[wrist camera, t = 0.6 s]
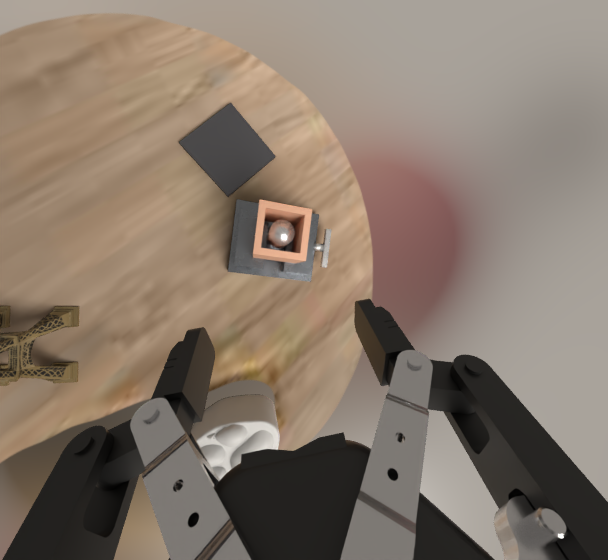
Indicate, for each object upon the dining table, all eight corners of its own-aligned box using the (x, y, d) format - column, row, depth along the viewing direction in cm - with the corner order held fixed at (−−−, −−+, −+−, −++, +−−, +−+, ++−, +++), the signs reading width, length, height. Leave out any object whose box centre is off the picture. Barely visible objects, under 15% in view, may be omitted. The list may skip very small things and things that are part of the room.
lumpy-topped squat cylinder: (275, 452, 40) (282, 500, 32) (192, 466, 37) (174, 523, 29) (274, 391, 40) (280, 423, 31) (190, 401, 37) (171, 439, 28)
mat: (179, 144, 36) (179, 142, 35) (230, 104, 37) (230, 102, 36) (228, 196, 37) (227, 195, 37) (275, 157, 39) (275, 155, 38)
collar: (252, 257, 34) (252, 253, 27) (258, 214, 34) (259, 199, 27) (295, 263, 35) (305, 261, 28) (300, 221, 35) (312, 209, 28)
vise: (228, 271, 38) (220, 270, 27) (237, 202, 38) (231, 175, 27) (318, 282, 41) (341, 285, 30) (326, 218, 41) (351, 200, 30)
